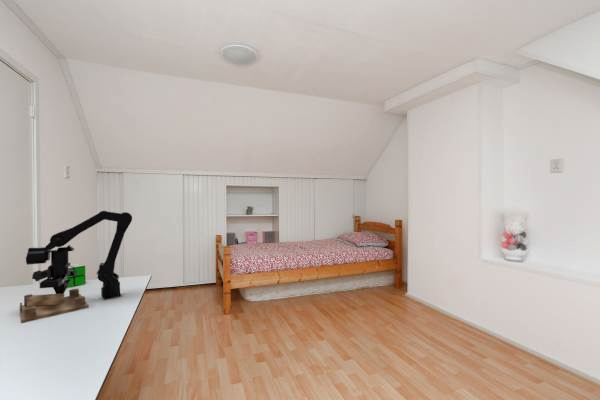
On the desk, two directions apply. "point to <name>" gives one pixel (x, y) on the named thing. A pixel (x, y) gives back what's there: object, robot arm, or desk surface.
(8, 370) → the desk surface
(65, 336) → the desk surface
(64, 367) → the desk surface
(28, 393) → the desk surface
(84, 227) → the robot arm
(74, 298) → the seat
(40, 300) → the hinged leg
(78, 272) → the puzzle cube
